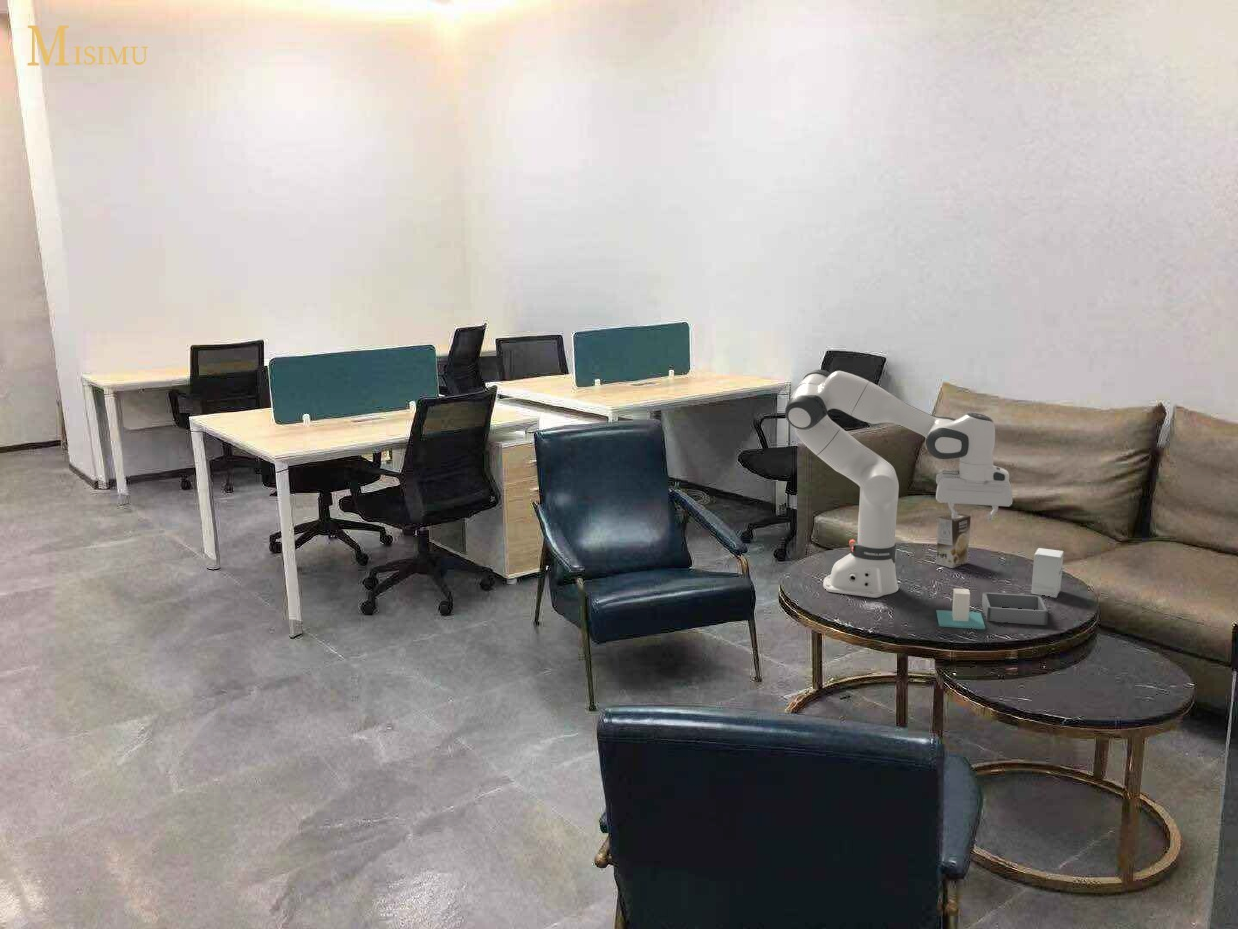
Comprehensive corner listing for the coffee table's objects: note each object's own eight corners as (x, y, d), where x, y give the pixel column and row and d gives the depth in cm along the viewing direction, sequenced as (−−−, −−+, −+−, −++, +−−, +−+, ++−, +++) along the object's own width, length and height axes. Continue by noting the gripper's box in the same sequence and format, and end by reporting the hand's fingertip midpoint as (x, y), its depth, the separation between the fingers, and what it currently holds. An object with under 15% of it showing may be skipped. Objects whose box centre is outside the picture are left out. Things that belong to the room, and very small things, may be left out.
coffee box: (952, 568, 320) (955, 521, 316) (935, 564, 324) (937, 517, 321) (968, 562, 325) (971, 515, 322) (951, 558, 330) (953, 511, 326)
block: (953, 620, 275) (954, 593, 274) (952, 615, 279) (953, 588, 277) (968, 621, 274) (970, 594, 273) (966, 616, 278) (968, 589, 276)
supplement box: (1057, 598, 292) (1060, 557, 289) (1030, 594, 296) (1033, 553, 293) (1061, 590, 298) (1064, 550, 296) (1034, 586, 302) (1038, 547, 299)
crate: (987, 621, 276) (987, 607, 275) (981, 605, 288) (982, 592, 287) (1046, 625, 272) (1048, 611, 271) (1039, 608, 284) (1040, 595, 283)
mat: (939, 626, 273) (939, 624, 273) (936, 611, 284) (936, 610, 283) (985, 629, 270) (985, 627, 270) (980, 614, 281) (980, 612, 281)
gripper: (937, 472, 276) (934, 519, 279) (1015, 476, 270) (1011, 524, 274) (936, 467, 282) (933, 513, 285) (1012, 470, 276) (1008, 518, 280)
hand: (972, 519), depth 279 cm, fingers open, 8 cm apart
